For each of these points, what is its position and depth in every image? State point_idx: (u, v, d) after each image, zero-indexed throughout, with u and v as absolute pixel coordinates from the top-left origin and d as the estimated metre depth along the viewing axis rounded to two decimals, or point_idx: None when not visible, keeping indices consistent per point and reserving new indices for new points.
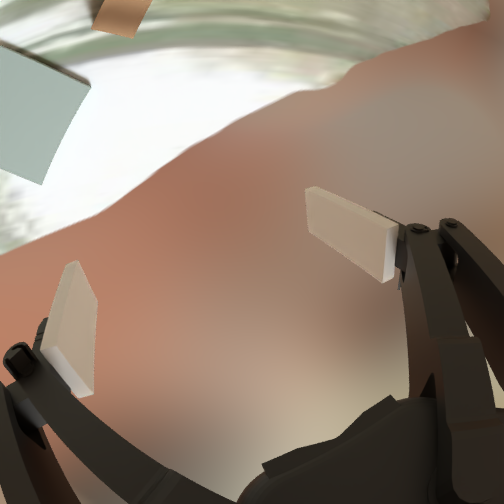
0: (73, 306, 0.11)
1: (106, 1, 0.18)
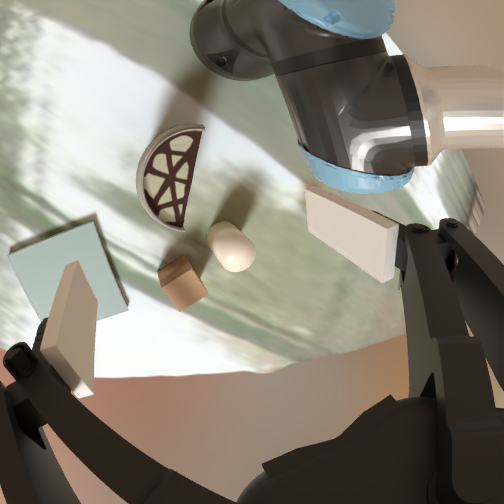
0: (73, 306, 0.11)
1: (183, 276, 0.40)
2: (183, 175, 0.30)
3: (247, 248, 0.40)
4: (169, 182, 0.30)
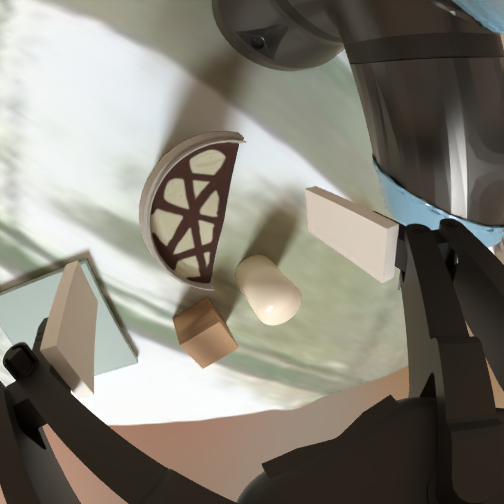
0: (73, 306, 0.11)
1: (208, 331, 0.31)
2: (211, 210, 0.21)
3: (291, 297, 0.30)
4: (190, 221, 0.20)
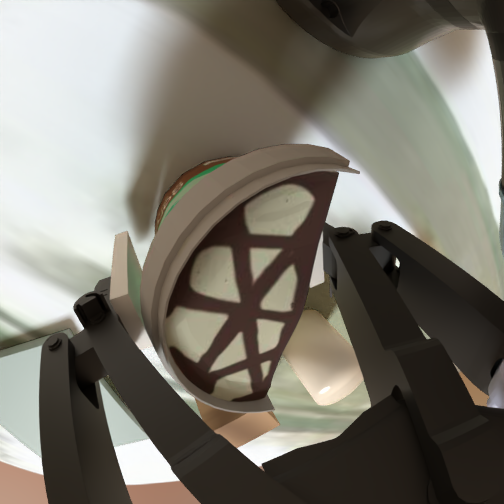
0: (131, 267, 0.13)
1: (245, 416, 0.21)
2: (282, 301, 0.11)
3: (357, 372, 0.21)
4: (242, 321, 0.11)
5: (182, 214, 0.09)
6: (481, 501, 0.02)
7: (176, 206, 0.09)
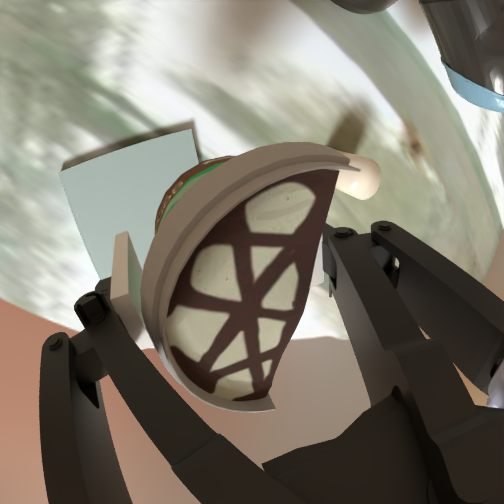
0: (131, 267, 0.13)
1: None
2: (283, 300, 0.11)
3: (374, 173, 0.32)
4: (243, 320, 0.11)
5: (183, 212, 0.09)
6: (481, 501, 0.02)
7: (177, 205, 0.09)
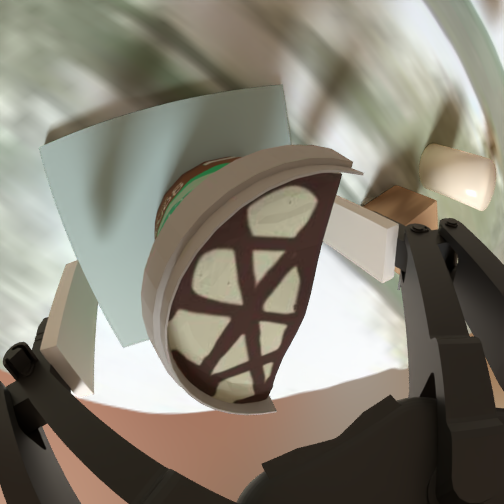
0: (73, 306, 0.11)
1: (426, 212, 0.20)
2: (285, 303, 0.11)
3: (492, 178, 0.20)
4: (245, 324, 0.11)
5: (184, 216, 0.09)
6: (472, 502, 0.02)
7: (178, 208, 0.09)
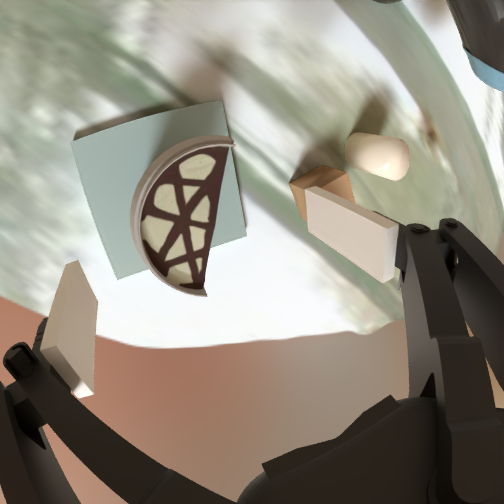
0: (73, 306, 0.11)
1: (337, 181, 0.30)
2: (202, 215, 0.20)
3: (404, 154, 0.30)
4: (181, 227, 0.20)
5: (151, 169, 0.18)
6: (472, 502, 0.02)
7: (149, 167, 0.19)
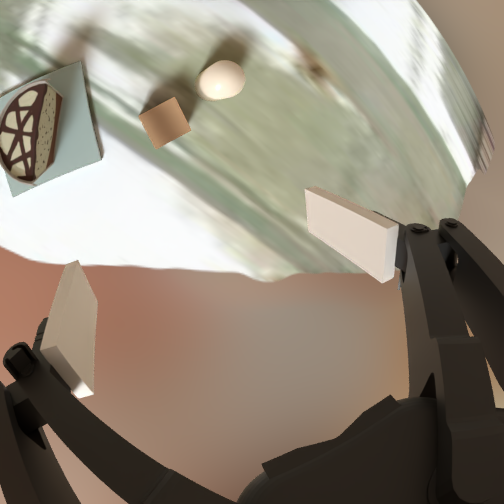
0: (73, 306, 0.11)
1: (164, 104, 0.32)
2: (29, 128, 0.22)
3: (235, 74, 0.31)
4: (18, 137, 0.22)
5: None
6: (472, 502, 0.02)
7: None
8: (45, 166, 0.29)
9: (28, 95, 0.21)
